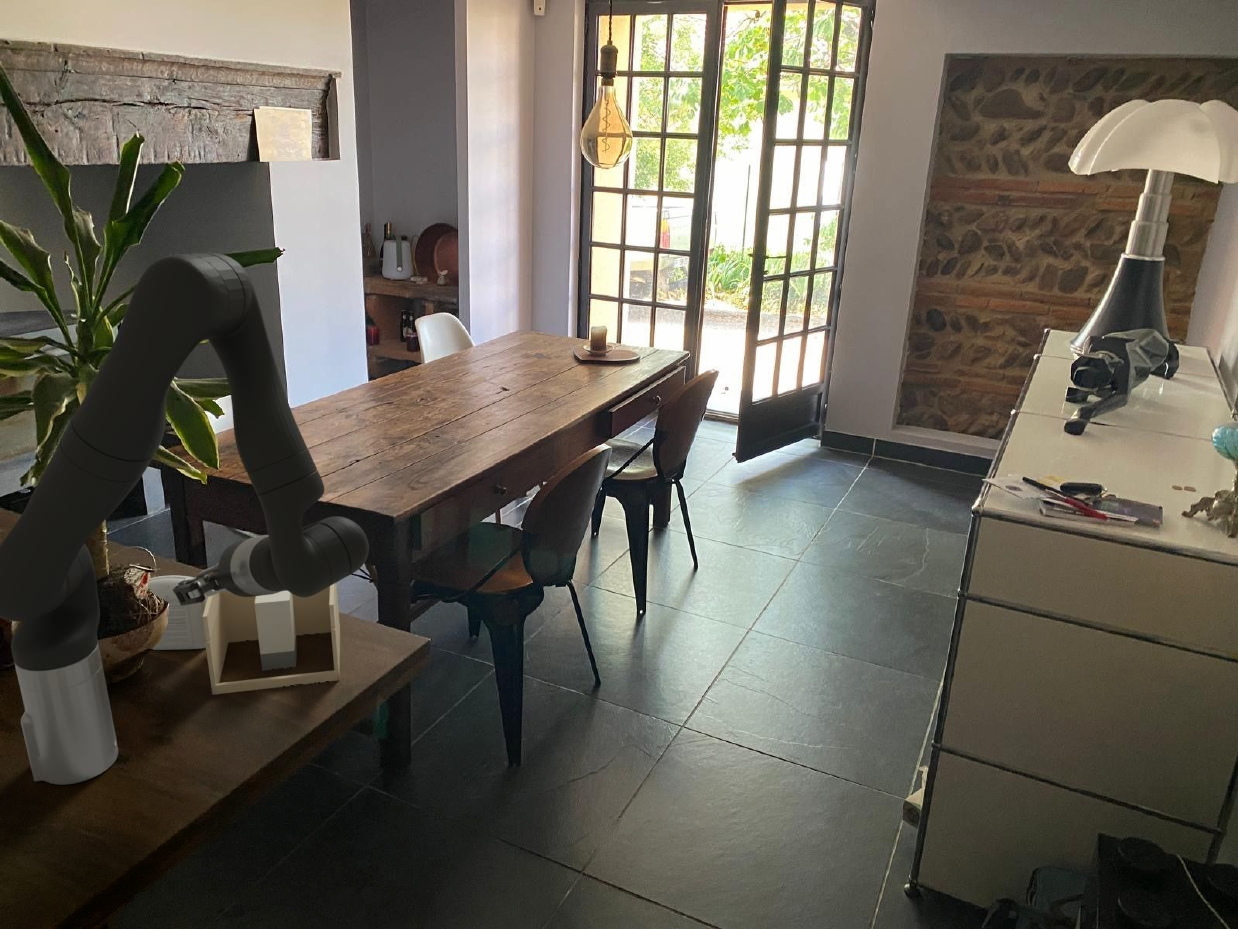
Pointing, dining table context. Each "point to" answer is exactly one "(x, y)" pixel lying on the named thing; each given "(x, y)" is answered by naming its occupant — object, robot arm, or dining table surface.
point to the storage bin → (238, 622)
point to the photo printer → (179, 616)
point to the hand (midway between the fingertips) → (211, 574)
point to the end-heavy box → (276, 630)
